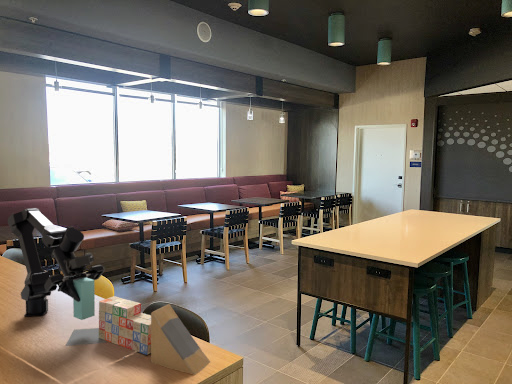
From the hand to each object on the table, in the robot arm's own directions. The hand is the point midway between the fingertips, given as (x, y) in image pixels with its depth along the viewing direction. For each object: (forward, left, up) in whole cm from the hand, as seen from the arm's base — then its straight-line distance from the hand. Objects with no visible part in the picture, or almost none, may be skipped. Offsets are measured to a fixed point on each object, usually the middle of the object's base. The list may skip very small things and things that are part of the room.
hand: (86, 299), depth 129 cm
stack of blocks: (+14, -8, -12) cm, 20 cm away
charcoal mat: (+1, -1, -12) cm, 13 cm away
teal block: (-1, +1, -6) cm, 6 cm away
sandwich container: (+30, -23, -13) cm, 39 cm away
